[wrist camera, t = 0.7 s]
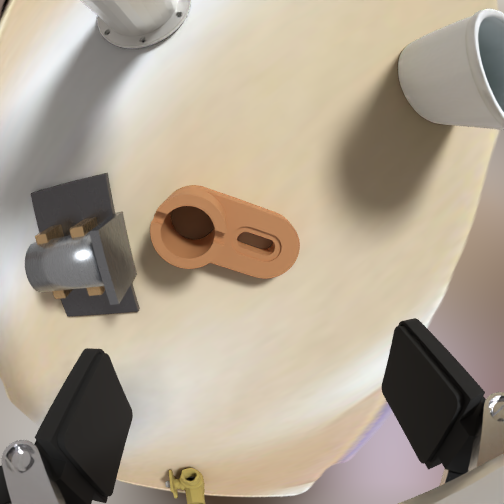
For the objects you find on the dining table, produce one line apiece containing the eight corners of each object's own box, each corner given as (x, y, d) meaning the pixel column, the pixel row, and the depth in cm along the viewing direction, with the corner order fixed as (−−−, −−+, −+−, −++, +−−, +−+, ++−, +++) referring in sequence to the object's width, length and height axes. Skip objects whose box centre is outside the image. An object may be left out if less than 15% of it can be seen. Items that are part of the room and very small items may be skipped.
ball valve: (200, 462, 59) (160, 464, 57) (206, 497, 50) (163, 499, 48) (205, 479, 65) (169, 482, 62) (210, 510, 55) (173, 512, 53)
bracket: (155, 236, 39) (142, 255, 32) (173, 176, 36) (162, 184, 30) (280, 277, 42) (290, 301, 36) (304, 223, 40) (319, 239, 33)
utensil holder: (397, 124, 36) (486, 125, 19) (385, 28, 30) (461, -11, 14) (467, 132, 36) (550, 143, 20) (458, 48, 31) (534, 33, 15)
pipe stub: (33, 192, 34) (-1, 205, 27) (115, 171, 35) (88, 179, 27) (69, 313, 42) (47, 343, 34) (146, 308, 42) (132, 342, 34)
